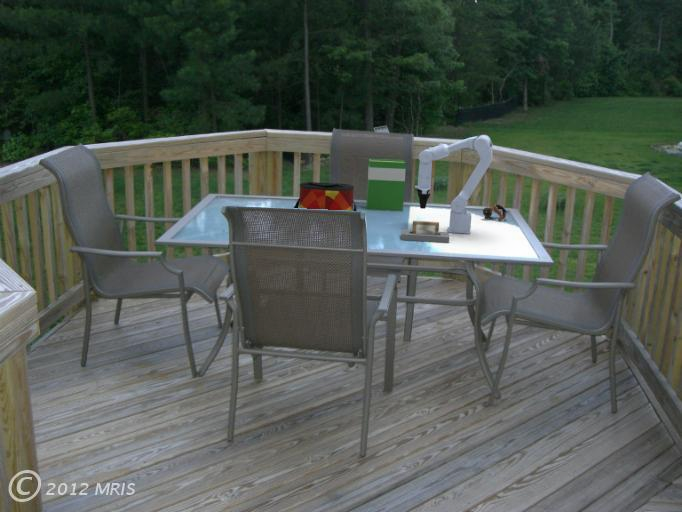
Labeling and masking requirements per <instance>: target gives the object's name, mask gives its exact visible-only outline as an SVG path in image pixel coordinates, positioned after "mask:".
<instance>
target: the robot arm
mask: <svg viewBox="0 0 682 512" xmlns="http://www.w3.org/2000/svg"><path fill="white" fill-rule="evenodd" d="M493 145H494V144H493V142H492V140H491V138H490V135H487V134H481V135H476V136H472V137H468V138H465V139H462V140H459V141H457V142H454V143H451V144H446V143H442V142H441V143H438V145H436V146H433V147H432V146H430V147H428V148H427V149H424V150H422V151H421V152H420V153H419V155H418V160H419V164H418V165H419V167H418V176H417V185H414V189H416V191H417V195H418V196H417V197H418V201H419V208H420V209H422V210H423V209H426V207H427V203H428V200H429V198H430V196H431V193H429V192H430V190H431V189H432V186H431V184H432V171H433V161H438V160H440V159H443V158H446V157H448V156H450V153H453V152H456V151H459V150H463V149H466V148H468V149H472V150H473V149H474V150H475V151H476V152H477V154H478V157H479V162H478V163H477V165H476V166H475V168H474V169H473V172H472V173H471V174H470V176H469V178H468V180H467V181H466V182H465V184H464V185H463V188H462V189H461V191H460V192H459V194H457V196H455V197H454V199H453V200H452V201H451V202H450V211H449V213H450V214H449V225H448V226H447V232H448V233H452V234H453V233H454V234H471V226H472V225H471V224H472V213H471V212H468V211H467V206H468V204H469V199H470V197H471V196H472V194H473V193H474V191H475V189H476V188H477V185H478V184H479V183H480V181H481V180H482V178H483V176H484V175H485V174H486V172H487V170H488V168H489V167H490V165H491V163H492V162H493Z"/></svg>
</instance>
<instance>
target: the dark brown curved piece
mask: <svg viewBox="0 0 682 512" xmlns="http://www.w3.org/2000/svg"><path fill="white" fill-rule="evenodd" d="M493 213H495V214H497V215H498V216H499V218H498V221H499V220H501V221H502V220H504V219H506V216H507V213H508V212H507V210H506V208H505V207H503V206H502V205H501V204H499V203H498V204H497V203H494V204H493V205H491V206H490V207H484V208H483V210H482V215H483V216H484V219H489V218H490V217H489V216H492V215H493Z"/></svg>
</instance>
